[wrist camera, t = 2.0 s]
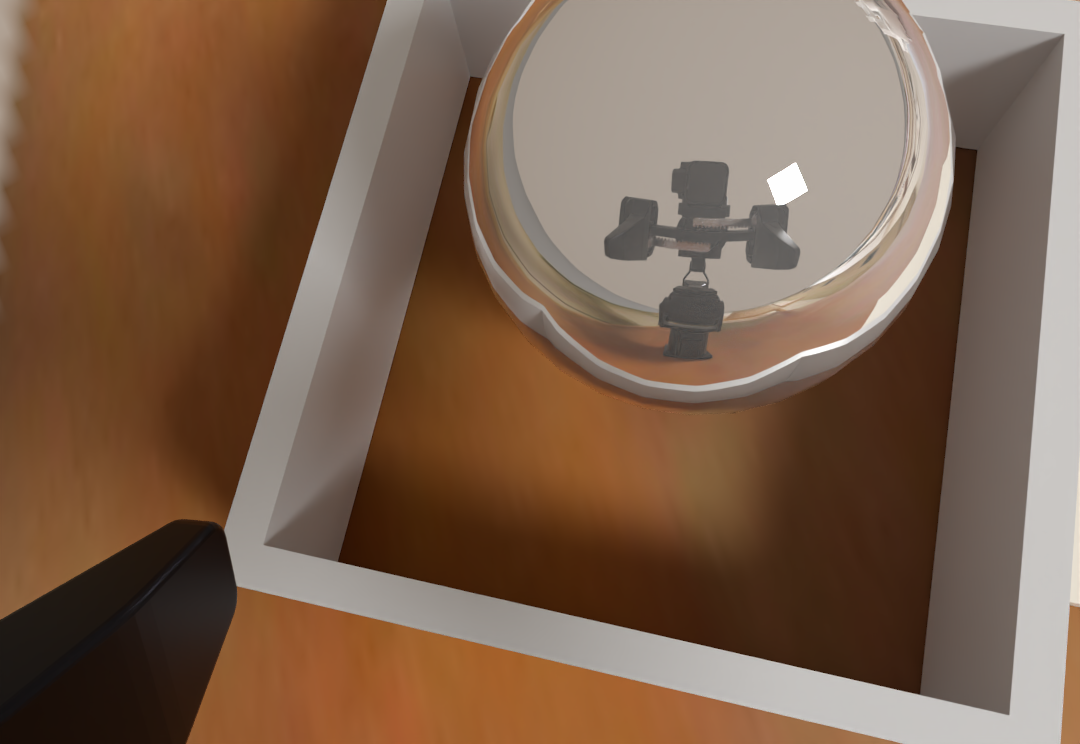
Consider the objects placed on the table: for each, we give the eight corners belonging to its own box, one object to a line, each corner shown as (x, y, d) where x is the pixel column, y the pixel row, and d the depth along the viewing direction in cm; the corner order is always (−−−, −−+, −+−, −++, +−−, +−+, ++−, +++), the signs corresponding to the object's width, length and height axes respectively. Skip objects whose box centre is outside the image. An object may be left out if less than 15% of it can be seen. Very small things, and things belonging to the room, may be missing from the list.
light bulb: (472, 303, 22) (313, -48, 11) (713, 168, 23) (809, -311, 11) (618, 551, 20) (617, 450, 9) (878, 397, 21) (1204, 107, 9)
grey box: (955, 744, 18) (1057, 780, 14) (294, 589, 21) (209, 579, 16) (1014, 126, 22) (1109, 4, 18) (449, 46, 24) (411, -79, 20)
